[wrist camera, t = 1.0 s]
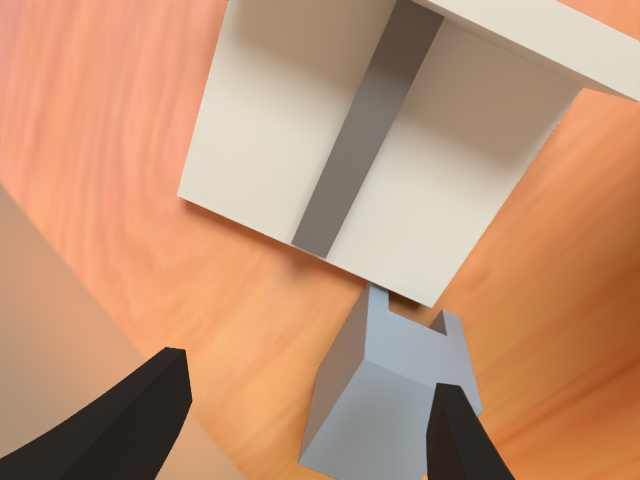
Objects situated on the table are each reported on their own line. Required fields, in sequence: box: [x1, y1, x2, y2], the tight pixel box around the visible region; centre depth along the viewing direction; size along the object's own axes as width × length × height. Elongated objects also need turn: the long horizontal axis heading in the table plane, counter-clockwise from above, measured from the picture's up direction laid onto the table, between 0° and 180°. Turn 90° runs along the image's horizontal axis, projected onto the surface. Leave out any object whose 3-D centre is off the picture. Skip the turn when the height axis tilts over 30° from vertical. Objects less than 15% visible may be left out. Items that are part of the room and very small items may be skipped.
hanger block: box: [298, 281, 483, 480], centre depth 20 cm, size 5×7×6 cm
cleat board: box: [177, 0, 640, 308], centre depth 16 cm, size 13×12×5 cm
